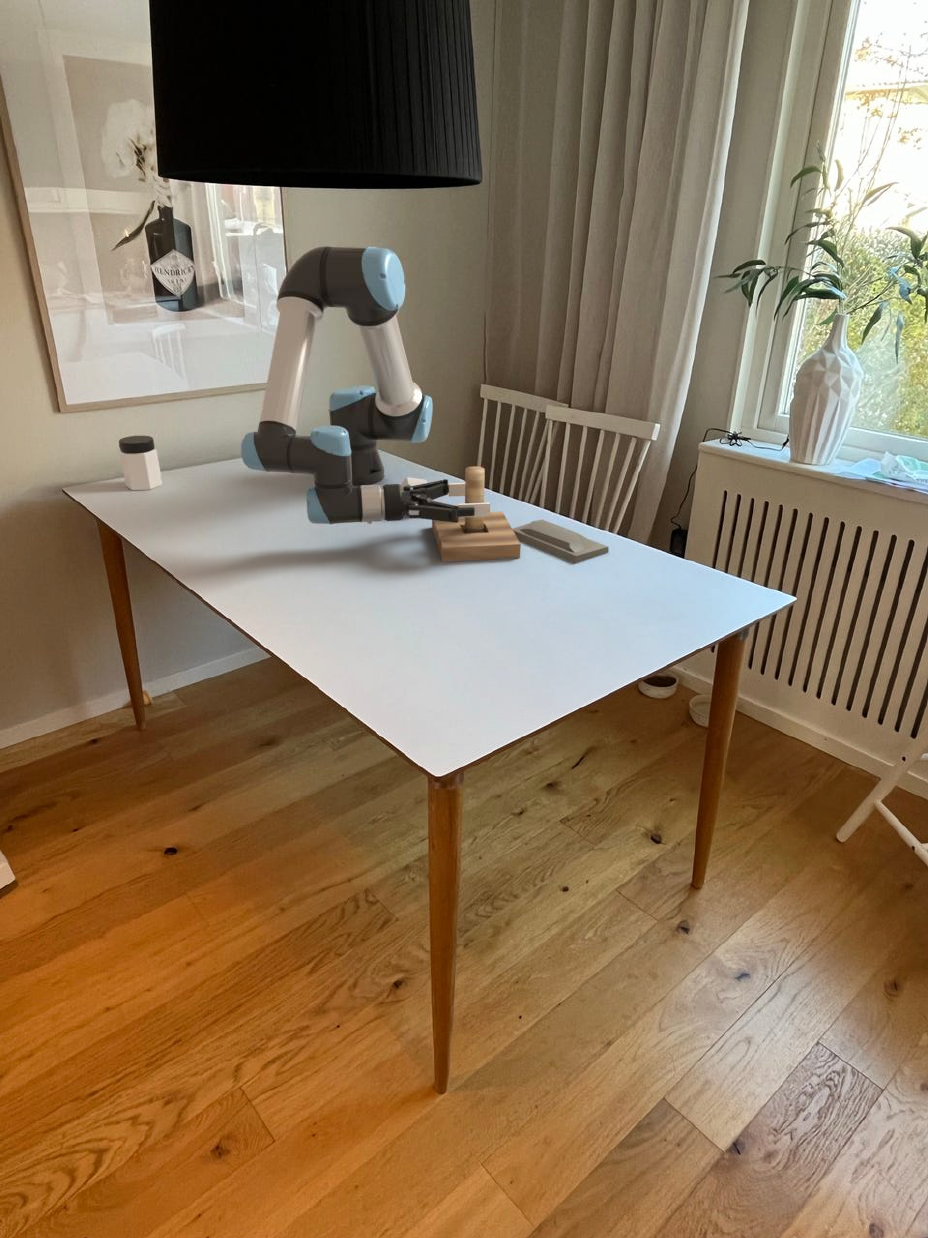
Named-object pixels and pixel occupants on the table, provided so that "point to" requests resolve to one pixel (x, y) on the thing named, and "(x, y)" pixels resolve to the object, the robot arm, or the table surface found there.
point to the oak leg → (474, 497)
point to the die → (412, 482)
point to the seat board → (477, 540)
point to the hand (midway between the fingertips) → (484, 498)
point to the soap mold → (559, 541)
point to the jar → (140, 463)
